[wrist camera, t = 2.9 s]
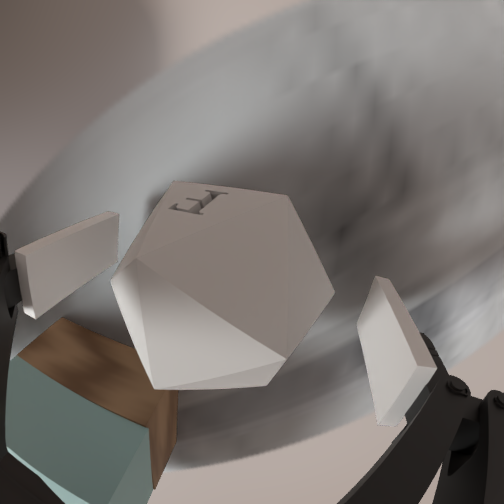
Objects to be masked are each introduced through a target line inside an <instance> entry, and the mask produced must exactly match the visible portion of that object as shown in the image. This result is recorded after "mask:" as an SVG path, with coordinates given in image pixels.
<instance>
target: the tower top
mask: <svg viewBox="0 0 504 504" xmlns="http://www.w3.org/2000/svg"><path fill="white" fill-rule="evenodd" d="M5 439H6V446H7V450H8V452H9V453H10V454H12V455H13V456H14V457H15V458H16V459H18V460H19V461H20V462H21V463H23V464H24V465H25V466H26V467H28V468H29V469H30V470H32V471H33V472H34V473H36V474H37V475H38V476H39V477H40V478H41V479H42V480H43V481H44V482H45V483H46V484H47V485H48V486H49V487H50V489H51V490H52V491H53V492H54V493H55V494H56V495H57V496H58V497H59V498H60V499H61V500H62V501H63V502H64V503H65V504H147V502H148V500H149V498H150V496H151V493H152V491H153V483H152V472H151V460H150V444H149V428H146V427H144V426H141V425H139V424H136V423H134V422H132V421H130V420H127V419H125V418H123V417H121V416H119V415H117V414H115V413H113V412H110V411H108V410H106V409H104V408H102V407H100V406H99V405H97V404H95V403H93V402H91V401H89V400H87V399H85V398H83V397H82V396H80V395H78V394H76V393H75V392H73V391H71V390H69V389H68V388H66V387H64V386H63V385H61V384H59V383H58V382H56V381H55V380H53V379H51V378H50V377H48V376H47V375H45V374H44V373H42V372H41V371H39V370H38V369H36V368H35V367H33V366H32V365H30V364H29V363H27V362H26V361H24V360H23V359H22V358H20V357H19V356H18V355H17V356H16V357H14V358H13V359H12V360H11V361H10V362H9V370H8V380H7V393H6V415H5Z"/></svg>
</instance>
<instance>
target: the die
mask: <svg viewBox="0 0 504 504" xmlns="http://www.w3.org/2000/svg"><path fill="white" fill-rule="evenodd" d="M110 282H111V285H112V288H113V291H114V294H115V297H116V300H117V302H118V305H119V308H120V311H121V313H122V316H123V318H124V321H125V324H126V326H127V329H128V331H129V334H130V336H131V339H132V341H133V343H134V346H135V348H136V351H137V353H138V355H139V357H140V360H141V362H142V364H143V366H144V369H145V371H146V373H147V375H148V377H149V379H150V381H151V383H152V386H153V388H154V389H158V390H205V389H230V388H246V387H259V386H267V385H268V383H269V382H270V381H271V380H272V378H273V377H274V376H275V375H276V373H277V372H278V371H279V369H280V368H281V367H282V366H283V364H284V363H285V362H286V360H287V359H288V358H289V357H290V355H291V354H292V353H293V351H294V350H295V349H296V347H297V346H298V345H299V343H300V342H301V341H302V339H303V338H304V337H305V335H306V334H307V332H308V331H309V330H310V328H311V327H312V325H313V324H314V323H315V321H316V320H317V318H318V317H319V316H320V314H321V313H322V311H323V310H324V309H325V307H326V306H327V304H328V303H329V301H330V300H331V298H332V297H333V295H334V294H335V291H334V289H333V287H332V284H331V282H330V280H329V278H328V276H327V274H326V272H325V269H324V267H323V265H322V263H321V261H320V259H319V257H318V255H317V253H316V250H315V248H314V246H313V244H312V242H311V240H310V238H309V236H308V234H307V232H306V230H305V228H304V226H303V224H302V222H301V220H300V218H299V216H298V214H297V212H296V210H295V208H294V206H293V204H292V202H291V200H290V198H289V196H288V195H282V194H275V193H269V192H262V191H255V190H248V189H241V188H233V187H225V186H217V185H209V184H200V183H191V182H182V181H173V182H172V184H171V185H170V187H169V188H168V190H167V191H166V192H165V194H164V195H163V197H162V198H161V200H160V201H159V203H158V204H157V206H156V207H155V209H154V210H153V212H152V213H151V215H150V216H149V218H148V219H147V221H146V222H145V224H144V225H143V227H142V229H141V230H140V232H139V233H138V235H137V236H136V238H135V240H134V241H133V243H132V244H131V246H130V248H129V249H128V251H127V253H126V254H125V256H124V258H123V259H122V261H121V263H120V264H119V266H118V268H117V270H116V271H115V273H114V275H113V276H112V278H111V280H110Z"/></svg>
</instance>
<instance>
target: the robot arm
mask: <svg viewBox="0 0 504 504" xmlns="http://www.w3.org/2000/svg"><path fill="white" fill-rule="evenodd" d="M118 231H119V214H118V213H114V212H109V211H107V212H105V213H102V214H99V215H97V216H94V217H92V218H89V219H87V220H84V221H82V222H79V223H77V224H74V225H72V226H69V227H67V228H64V229H62V230H60V231H57V232H55V233H53V234H50V235H48V236H46V237H43V238H41V239H39V240H37V241H34V242H32V243H30V244H28V245H25V246H23V247H21V248H19V249H17V250H15V251H14V252H15V253H14V254H11V255H8V247H7V237H6V234H5V233H3V232H0V504H65V503H64V502H63V501H62V500H61V499H60V498H59V497H58V496H57V495H56V494H55V493H54V492H53V491H52V490H51V489H50V487H49V486H48V485H47V484H46V483H45V482H44V481H43V480H42V479H41V478H40V477H39V476H38V475H37V474H36V473H34V472H33V471H32V470H30V469H29V468H28V467H26V466H25V465H24V464H23V463H21V462H20V461H19V460H18V459H16V458H15V457H14V456H13V455H12V454H10V453H9V452H8V450H7V446H6V439H5V415H6V393H7V380H8V370H9V362H10V354H11V347H12V341H13V335H14V330H15V324H16V319H17V315H18V308H17V303H19V302H20V301H22V303H23V308H24V313H26V314H27V315H29V316H31V317H32V318H34V319H37V318H38V317H40V316H41V315H42V314H44V313H45V312H46V311H48V310H49V309H51V308H52V307H53V306H55V305H56V304H57V303H59V302H60V301H62V300H63V299H64V298H66V297H67V296H69V295H70V294H71V293H73V292H74V291H76V290H77V289H78V288H80V287H81V286H83V285H84V284H86V283H87V282H88V281H90V280H91V279H93V278H94V277H96V276H97V275H99V274H100V273H102V272H103V271H105V270H106V269H108V268H109V267H111V266H112V265H114V264H115V263H117V262H118ZM356 325H357V329H358V333H359V337H360V342H361V346H362V350H363V355H364V359H365V364H366V368H367V373H368V378H369V383H370V388H371V393H372V398H373V403H374V409H375V414H376V420H377V425H380V426H397V425H398V423H399V422H400V421H401V420H402V419H403V417H404V416H405V417H406V421H407V425H406V426H405V427H404V429H403V430H402V431H401V432H400V433H399V435H398V436H397V437H396V438H395V439H394V440H393V442H392V444H391V445H390V447H389V448H388V449H387V450H386V451H385V453H384V454H383V455H382V456H381V458H380V459H379V460H378V461H377V462H376V463H375V464H374V466H373V467H372V468H371V469H370V470H369V471H368V472H367V474H366V475H365V476H364V477H363V478H362V479H361V480H360V481H359V482H358V483H357V484H356V486H354V487H353V488H352V489H351V490H350V492H348V494H346V495H345V496H344V497H343V498H342V499H341V500H340V501H339V502H338V503H337V504H418V503H419V502H420V500H421V499H422V497H423V495H424V494H425V492H426V490H427V489H428V487H429V485H430V484H431V482H432V480H433V478H434V477H435V475H436V473H437V471H438V469H439V467H440V466H441V463H442V462H443V463H442V469H441V472H440V477H439V481H438V485H437V489H436V492H435V496H434V500H433V503H432V504H504V393H502V392H500V391H497V390H491V391H490V392H489V393H488V394H487V395H486V397H485V398H484V399H483V400H482V399H478V398H476V397H472V396H471V392H470V390H469V387H468V386H467V385H466V384H465V382H463V381H462V380H461V379H459V378H457V377H455V376H451V375H449V374H448V372H447V370H446V368H445V366H444V364H443V362H442V360H441V359H440V357H439V355H438V353H437V351H436V350H435V347H434V345H433V343H432V342H431V340H430V339H429V338H428V337H427V336H426V335H425V334H424V333H420V332H419V331H418V329H417V327H416V325H415V324H414V322H413V320H412V318H411V316H410V314H409V313H408V311H407V309H406V307H405V305H404V304H403V302H402V300H401V298H400V297H399V295H398V293H397V291H396V290H395V288H394V286H393V285H392V283H391V281H390V280H389V279H387V278H383V277H379V276H375V277H374V280H373V283H372V286H371V288H370V291H369V293H368V296H367V299H366V301H365V304H364V306H363V309H362V311H361V314H360V316H359V319H358V321H357V323H356Z"/></svg>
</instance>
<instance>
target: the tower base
mask: <svg viewBox="0 0 504 504" xmlns="http://www.w3.org/2000/svg"><path fill="white" fill-rule="evenodd" d="M17 355H18V356H19V357H20V358H22V359H23V360H24V361H26V362H27V363H29V364H30V365H32V366H33V367H35V368H36V369H38V370H39V371H41V372H42V373H44V374H45V375H47V376H48V377H50V378H51V379H53V380H55V381H56V382H58V383H59V384H61V385H63V386H64V387H66V388H68V389H69V390H71V391H73V392H75V393H76V394H78V395H80V396H82V397H83V398H85V399H87V400H89V401H91V402H93V403H95V404H97V405H99V406H100V407H102V408H104V409H106V410H108V411H110V412H113V413H115V414H117V415H119V416H121V417H123V418H125V419H127V420H130V421H132V422H134V423H136V424H139V425H141V426H144V427H146V428H149V444H150V460H151V472H152V483H153V489H156V486H157V484H158V482H159V479H160V477H161V475H162V473H163V471H164V468H165V466H166V464H167V462H168V459H169V457H170V455H171V453H172V450H173V448H174V446H175V444H176V435H177V408H178V390H158V389H154V388H153V386H152V383H151V381H150V379H149V377H148V375H147V373H146V371H145V369H144V366H143V364H142V362H141V360H140V357H139V355H138V353H137V351H136V349H134V348H132V347H129V346H127V345H124V344H122V343H119V342H117V341H114V340H112V339H110V338H107V337H105V336H102V335H100V334H98V333H95V332H93V331H91V330H89V329H86V328H84V327H82V326H80V325H78V324H76V323H73V322H71V321H69V320H67V319H65V318H63V317H62V318H60V319H59V320H58V321H57V322H55V323H54V324H53V325H52V326H50V327H49V328H48V329H47V330H46V331H44V332H43V333H42V334H41V335H40V336H38V337H37V338H36V339H35V340H34V341H32V342H31V343H30V344H29V345H28V346H27V347H25V348H24V349H23V350H22V351H21V352H20V353H18V354H17ZM17 355H16V356H17Z"/></svg>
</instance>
